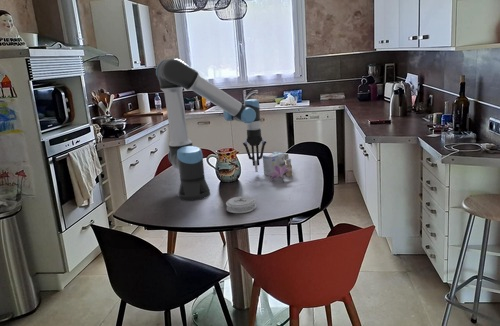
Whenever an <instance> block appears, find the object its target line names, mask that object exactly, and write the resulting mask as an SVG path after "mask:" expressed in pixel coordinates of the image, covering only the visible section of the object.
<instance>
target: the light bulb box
mask: <svg viewBox="0 0 500 326" xmlns="http://www.w3.org/2000/svg"><path fill="white" fill-rule="evenodd" d="M284 154H285V153H284V152H278V151H274V152H271V153H268V154H267V153H266V154H263V156H262V162H263V163H262V164H263V175H265V176H271V177H272V175H268V174H270V173H272V172H274V166H275V165H279V166H280V167H281V168H282V167H283V166H285V161H284Z"/></svg>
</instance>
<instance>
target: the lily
mask: <svg viewBox="0 0 500 326" xmlns="http://www.w3.org/2000/svg"><path fill="white" fill-rule="evenodd" d="M286 167H287V165H285V166H283V167H282V168H281V167H280V166H279V165H275V166H274V172H272V173H270V174H268V175H267V176H269V175H272V176H271V177H270V179H269V182H271V181H273V180H275V179H276V178H278V179H281V180H282V183H283V184H285V181H284V174H286V172H288V171H290V170H291V169H288V168H286Z"/></svg>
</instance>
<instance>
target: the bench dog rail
mask: <svg viewBox="0 0 500 326" xmlns="http://www.w3.org/2000/svg"><path fill="white" fill-rule="evenodd" d="M284 161H285V165H287V167H286V168H288V169H291V170H290V171H288V172H286V173H285V176H286V177H289V178H290V177H293V164H292V159H291V158H290V157H289V153H286V152H285V153H284Z"/></svg>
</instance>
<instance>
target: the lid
mask: <svg viewBox="0 0 500 326" xmlns="http://www.w3.org/2000/svg"><path fill="white" fill-rule="evenodd" d="M256 202H257V201H256V199H255V198H253V197H252V196H246V195H243V196H235V197H231V198H230V199H228V200H227V201H226V202H225V206H226V211H227V212H229V213H233V214H245V213H249V212H252V211H254V210H255V209H257V205H256Z"/></svg>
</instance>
